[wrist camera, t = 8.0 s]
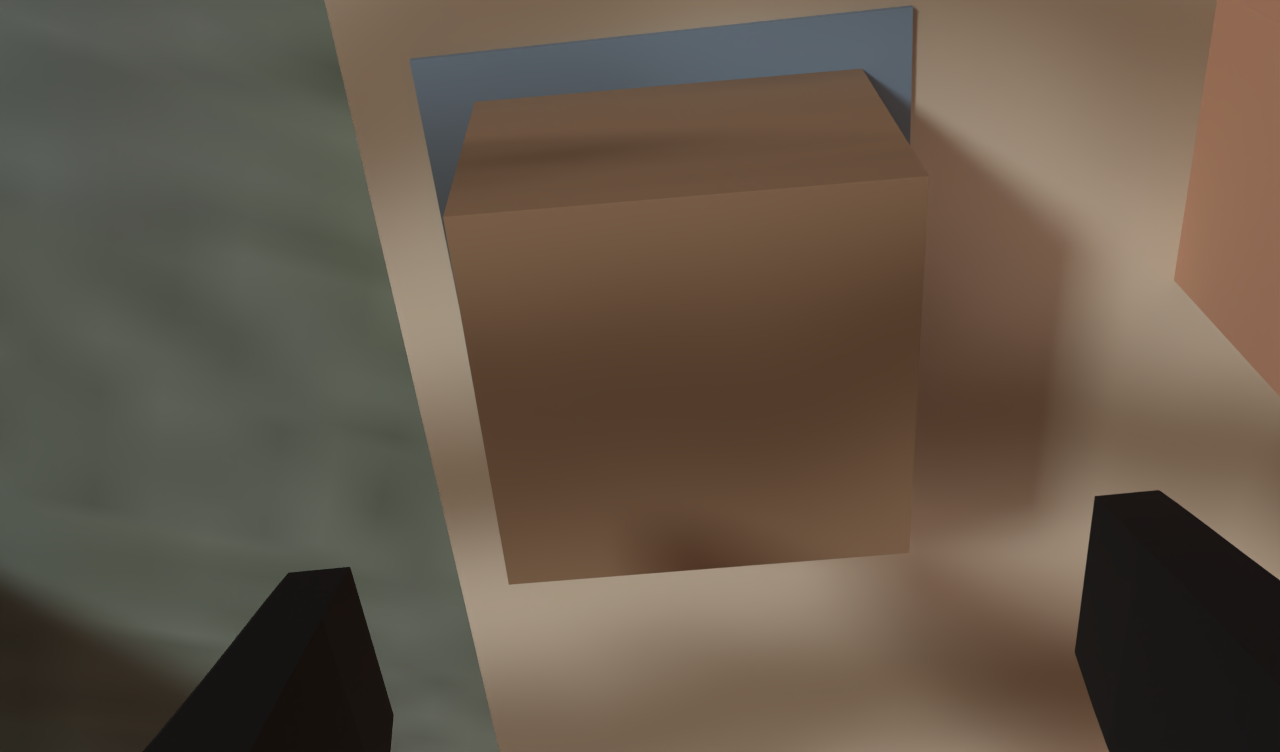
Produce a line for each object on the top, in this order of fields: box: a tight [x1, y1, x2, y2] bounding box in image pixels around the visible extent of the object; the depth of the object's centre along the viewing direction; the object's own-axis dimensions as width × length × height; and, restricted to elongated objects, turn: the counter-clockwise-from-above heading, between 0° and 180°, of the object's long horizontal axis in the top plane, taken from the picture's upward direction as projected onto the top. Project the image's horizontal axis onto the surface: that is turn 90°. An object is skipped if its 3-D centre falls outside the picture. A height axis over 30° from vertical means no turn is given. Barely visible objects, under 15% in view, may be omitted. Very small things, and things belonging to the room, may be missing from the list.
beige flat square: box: [325, 0, 1280, 752], centre depth 21 cm, size 20×18×1 cm
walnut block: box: [443, 69, 929, 585], centre depth 17 cm, size 6×6×4 cm
